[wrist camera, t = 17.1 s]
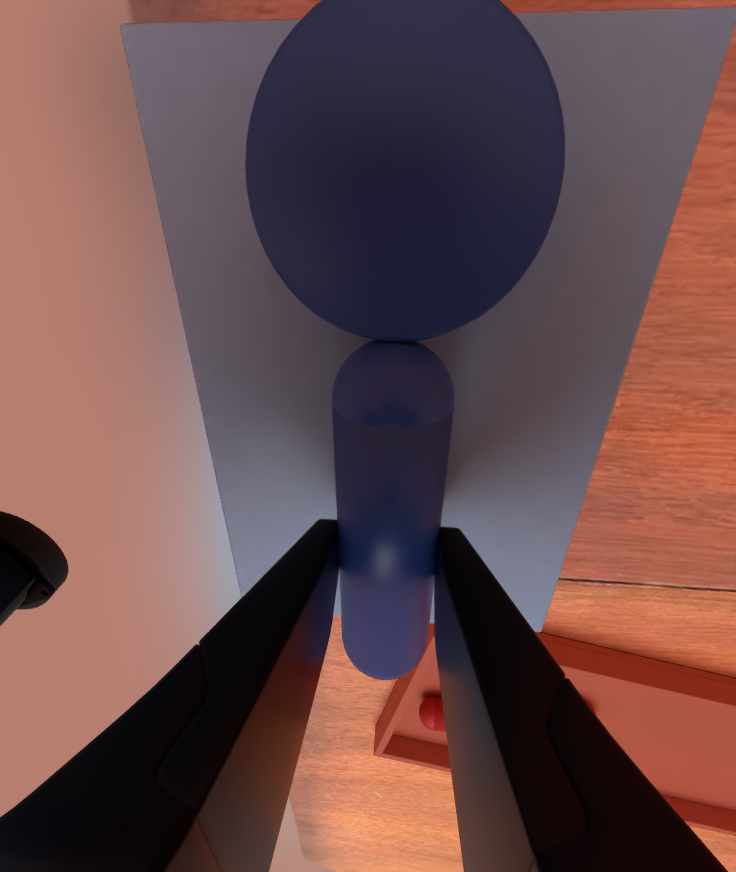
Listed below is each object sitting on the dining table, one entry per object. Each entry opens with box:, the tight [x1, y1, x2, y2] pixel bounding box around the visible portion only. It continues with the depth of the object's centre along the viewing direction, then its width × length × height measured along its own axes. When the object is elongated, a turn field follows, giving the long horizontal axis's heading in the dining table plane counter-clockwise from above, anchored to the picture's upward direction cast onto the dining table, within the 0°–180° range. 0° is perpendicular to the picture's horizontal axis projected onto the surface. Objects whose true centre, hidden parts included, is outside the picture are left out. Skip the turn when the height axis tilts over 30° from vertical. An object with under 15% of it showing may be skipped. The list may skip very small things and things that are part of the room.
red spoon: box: [419, 696, 596, 732], centre depth 30 cm, size 12×4×2 cm, turn 90°
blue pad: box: [120, 7, 736, 632], centre depth 9 cm, size 12×8×1 cm, turn 0°
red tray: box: [374, 623, 736, 836], centre depth 31 cm, size 39×15×2 cm, turn 77°
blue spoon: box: [245, 0, 565, 680], centre depth 8 cm, size 12×4×2 cm, turn 0°
